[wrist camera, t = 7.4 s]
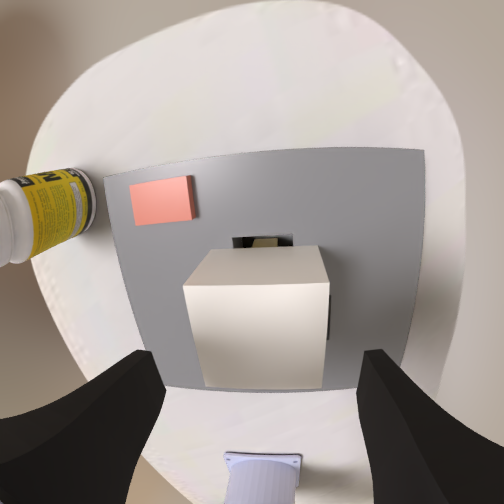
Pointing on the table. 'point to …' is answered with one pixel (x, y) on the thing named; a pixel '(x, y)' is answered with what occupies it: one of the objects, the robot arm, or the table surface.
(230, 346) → the plug
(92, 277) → the table surface
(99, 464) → the robot arm
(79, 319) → the table surface
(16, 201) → the supplement bottle
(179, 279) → the socket
